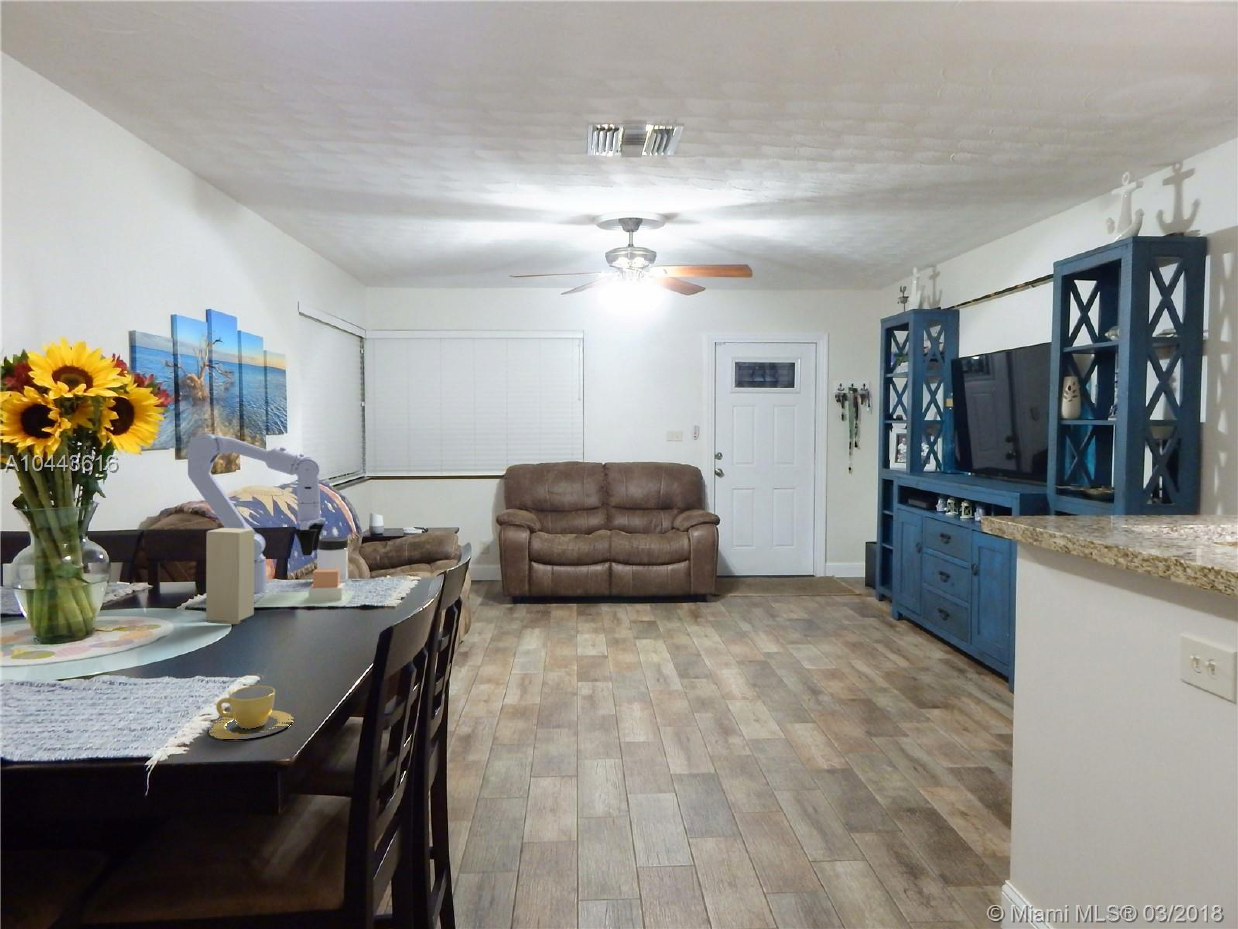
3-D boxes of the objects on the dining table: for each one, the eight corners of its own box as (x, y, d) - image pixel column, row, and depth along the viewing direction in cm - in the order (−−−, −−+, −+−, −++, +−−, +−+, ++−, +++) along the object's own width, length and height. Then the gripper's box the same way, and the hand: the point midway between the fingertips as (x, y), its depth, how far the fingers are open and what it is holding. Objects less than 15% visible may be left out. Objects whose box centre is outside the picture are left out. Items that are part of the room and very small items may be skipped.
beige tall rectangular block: (256, 616, 188) (256, 528, 187) (239, 624, 181) (238, 532, 180) (224, 615, 189) (224, 527, 188) (205, 623, 182) (204, 531, 181)
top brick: (313, 587, 203) (312, 572, 203) (316, 584, 207) (316, 569, 207) (337, 587, 204) (337, 571, 204) (340, 584, 208) (340, 568, 208)
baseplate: (251, 610, 194) (251, 607, 194) (268, 595, 210) (268, 592, 210) (346, 608, 198) (346, 604, 198) (355, 594, 214) (355, 591, 214)
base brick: (308, 600, 202) (308, 588, 202) (313, 595, 208) (313, 583, 208) (341, 599, 204) (341, 588, 203) (345, 594, 210) (345, 583, 209)
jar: (346, 583, 227) (346, 541, 227) (315, 583, 226) (315, 541, 225) (349, 576, 236) (349, 536, 235) (320, 577, 234) (320, 536, 234)
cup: (300, 711, 130) (300, 678, 130) (284, 740, 118) (284, 704, 118) (221, 715, 128) (221, 681, 127) (196, 745, 116) (196, 708, 116)
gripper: (319, 505, 209) (320, 556, 210) (329, 499, 223) (330, 547, 224) (290, 506, 207) (292, 557, 208) (302, 500, 222) (304, 548, 223)
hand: (310, 552), depth 216 cm, fingers open, 7 cm apart
